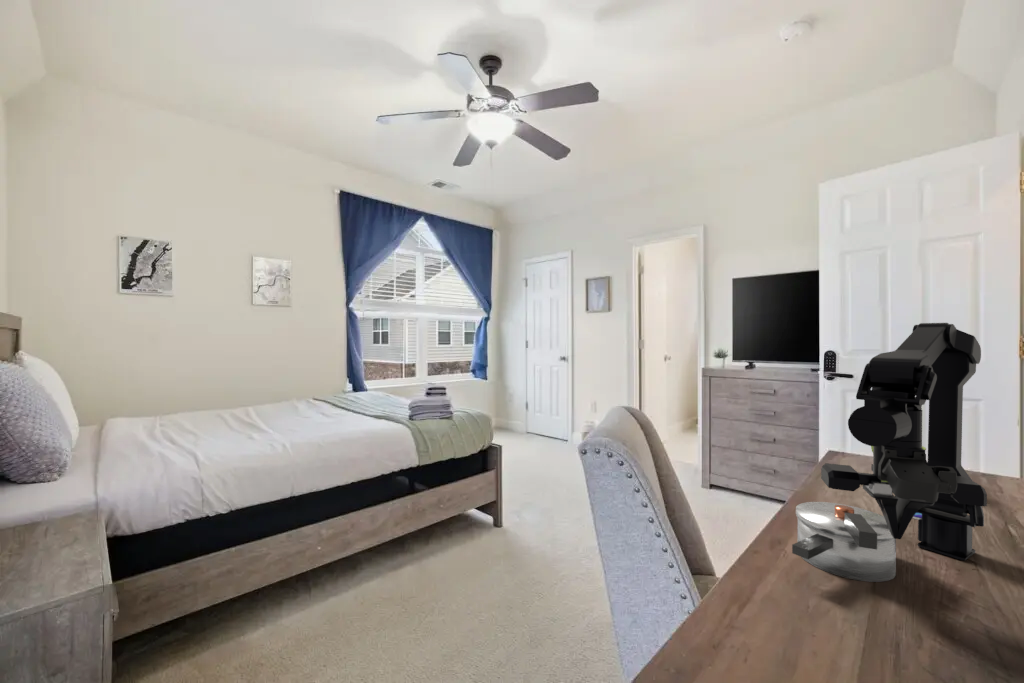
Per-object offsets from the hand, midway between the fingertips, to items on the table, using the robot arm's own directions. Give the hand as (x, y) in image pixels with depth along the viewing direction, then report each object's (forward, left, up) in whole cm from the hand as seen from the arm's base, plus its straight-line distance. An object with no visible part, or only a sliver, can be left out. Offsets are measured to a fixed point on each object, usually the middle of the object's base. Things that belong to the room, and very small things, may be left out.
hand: (896, 538), depth 69 cm
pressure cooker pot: (+9, -2, -9) cm, 13 cm away
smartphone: (+12, -47, -9) cm, 49 cm away
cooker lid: (+7, -2, -2) cm, 8 cm away
